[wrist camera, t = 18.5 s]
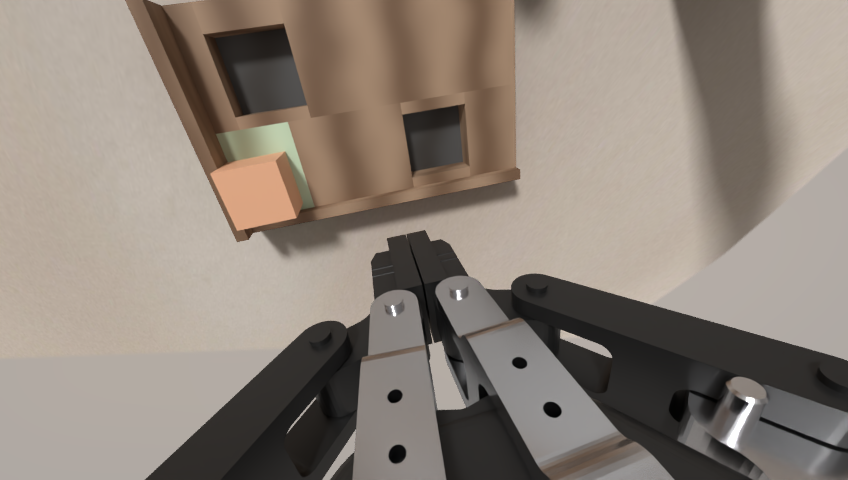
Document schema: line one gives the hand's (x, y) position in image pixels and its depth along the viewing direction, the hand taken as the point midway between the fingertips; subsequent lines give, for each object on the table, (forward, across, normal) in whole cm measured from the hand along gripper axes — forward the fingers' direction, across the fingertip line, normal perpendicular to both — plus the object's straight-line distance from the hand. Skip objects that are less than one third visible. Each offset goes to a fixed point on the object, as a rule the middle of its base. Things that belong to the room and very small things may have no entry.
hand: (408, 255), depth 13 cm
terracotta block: (+20, +10, +1) cm, 23 cm away
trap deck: (+23, 0, -4) cm, 23 cm away
